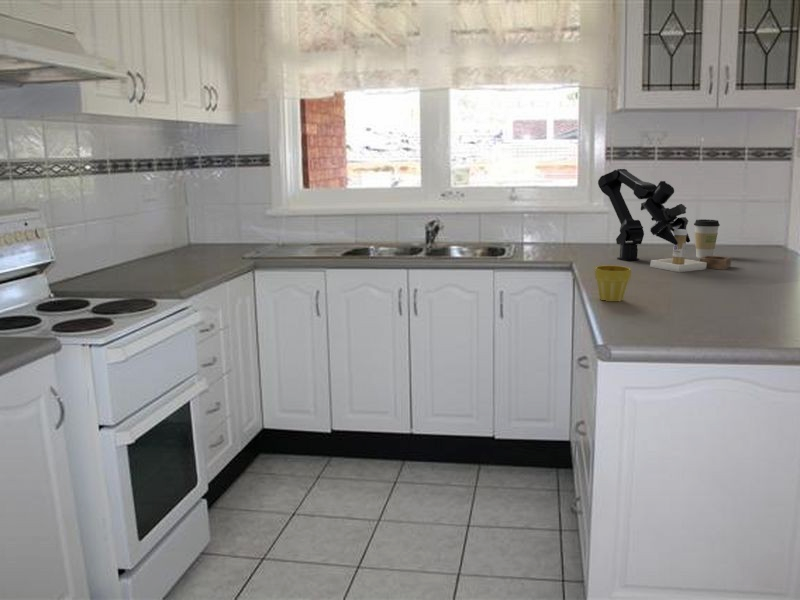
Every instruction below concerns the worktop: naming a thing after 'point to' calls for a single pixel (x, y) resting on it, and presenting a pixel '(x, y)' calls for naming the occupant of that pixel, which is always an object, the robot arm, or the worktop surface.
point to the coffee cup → (705, 237)
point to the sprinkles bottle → (679, 246)
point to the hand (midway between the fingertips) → (683, 243)
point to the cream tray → (687, 266)
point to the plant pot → (612, 281)
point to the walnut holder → (716, 262)
